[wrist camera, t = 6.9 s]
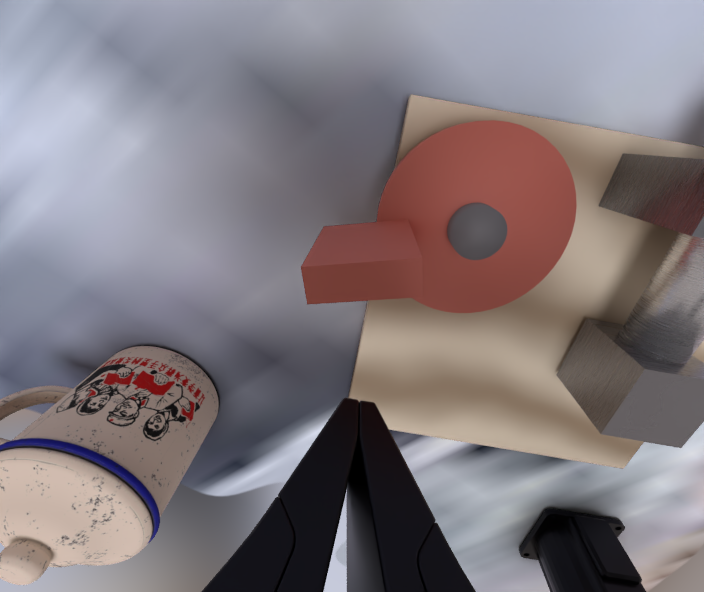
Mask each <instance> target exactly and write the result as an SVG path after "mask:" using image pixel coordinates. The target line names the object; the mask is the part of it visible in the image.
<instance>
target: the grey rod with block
mask: <svg viewBox="0 0 704 592" xmlns="http://www.w3.org/2000/svg"><path fill="white" fill-rule="evenodd" d="M703 340H704V238H699V237H694V236H689V235H686V234H683V233H680V232H679V233H678V235H677V236H676V238H675V240H674V241H673V243H672V245H671V246H670V248H669V250H668V251H667V253H666V255H665V256H664V258H663V260H662V261H661V263H660V265H659V266H658V268H657V270H656V271H655V273H654V275H653V276H652V278H651V280H650V281H649V283H648V285H647V286H646V288H645V290H644V291H643V293H642V295H641V296H640V298H639V300H638V301H637V303H636V305H635V306H634V308H633V310H632V311H631V313H630V315H629V316H628V318H627V320H626V321H625V323H624V325H623V324H617V323H611V322H605V321H600V320H594V319H588V318H587V319H586V320H585V322H584V324H583V326H582V328H581V330H580V332H579V333H578V335H577V337H576V339H575V341H574V343H573V345H572V346H571V348H570V350H569V352H568V354H567V356H566V358H565V360H564V361H563V363H562V365H561V367H560V369H559V371H558V373H557V374H556V375H557V377H558V378H559V379H560V381H561V382H562V383H563V385H564V386H565V387H566V389H567V390H568V391H569V393H570V394H571V395H572V397H573V398H574V399H575V401H576V402H577V403H578V405H579V406H580V407H581V409H582V410H583V411H584V413H585V414H586V415H587V417H588V418H589V419H590V421H591V422H592V423H593V425H594V426H595V427H596V429H597V430H598V431H599V433H600V434H602V435H608V436H614V437H620V438H625V439H631V440H637V441H643V442H649V443H655V444H661V445H667V446H673V447H679V448H682V446H683V445H684V444H685V443H686V442H687V440H688V439H689V438H690V437H691V436H692V435H693V433H694V432H695V431H696V430H697V429H698V427H699V426H700V425H701V424H702V423H703V422H704V363H703V362H702V361H700V360H699V359H697V358H696V357H695V356H693V354H694V352H695V351H696V350H697V348H698V347H699V346H700V344H701V343H702V342H703Z"/></svg>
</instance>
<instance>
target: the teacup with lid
mask: <svg viewBox="0 0 704 592" xmlns="http://www.w3.org/2000/svg"><path fill="white" fill-rule="evenodd" d="M44 403H56V404H55V405H53V406H52V407H51V408H50V409H49V410H47V411H46V412H45V413H44V414H43V415H41V416H40V417H39V418H38V419H37V420H36V421H34V422H33V423H32V424H31V425H30V426H28V427H27V428H26V429H25V430H24V431H22V432H21V433H20V434H19V435H18V436H17V437H15V438H14V439H13V440H12V441H10V440H6V439H3V438H0V543H1V544H2V545H3V546H4V547H5V549H4V550H3V551H2V552H1V553H0V578H1V579H3V580H5V581H7V582H9V583H12V584H17V585H27V584H30V583H32V582H34V581H36V580H37V579H39V578H40V577H41V576H42V574H43V573H44V572H45V571H46V569H47V568H48V567H66V566H73V565H77V564H82V565H109V564H115V563H118V562H122V561H125V560H127V559H129V558H131V557H133V556H134V555H136V554H137V553H138V552H140V551H141V550H142V549H143V548H145V546H146V545H147V544H148V543H149V542H150V541H151V540H152V539H153V538H154V537H155V535H156V533H157V531H158V528H159V523H160V517H161V515H162V513H163V511H164V509H165V508H166V506H167V504H168V503H169V501H170V499H171V497H172V496H173V494H174V492H175V490H176V489H177V487H178V485H179V483H180V481H181V480H182V478H183V476H184V474H185V473H186V471H187V469H188V467H189V465H190V464H191V462H192V460H193V458H194V457H195V455H196V453H197V451H198V450H199V448H200V446H201V444H202V442H203V441H204V439H205V437H206V435H207V434H208V432H209V430H210V428H211V426H212V425H213V423H214V421H215V419H216V417H217V414H218V408H219V401H218V395H217V392H216V390H215V387H214V385H213V383H212V382H211V380H210V379H209V377H208V376H207V375H206V374H205V373H204V371H203V370H202V369H201V368H199V367H198V366H197V365H196V364H195V363H193V362H192V361H190V360H189V359H187V358H186V357H184V356H182V355H180V354H178V353H176V352H173V351H170V350H167V349H163V348H159V347H152V346H137V347H131V348H127V349H124V350H122V351H120V352H118V353H116V354H115V355H113V356H112V357H111V358H109V359H108V360H107V361H106V362H105V363H103V364H102V365H101V366H100V367H99V368H97V369H96V370H95V371H94V372H93V373H92V374H90V375H89V376H88V377H87V378H86V379H84V380H83V381H82V382H81V383H80V384H78V385H77V386H76V387H75V388H74V389H72V388H68V387H62V386H41V387H35V388H30V389H26V390H23V391H20V392H17V393H14V394H11V395H9V396H7V397H4V398H2V399H0V420H2V419H3V418H5V417H7V416H8V415H10V414H12V413H14V412H16V411H19V410H21V409H24V408H27V407H30V406H33V405H38V404H44Z"/></svg>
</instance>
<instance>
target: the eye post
mask: <svg viewBox="0 0 704 592" xmlns="http://www.w3.org/2000/svg"><path fill="white" fill-rule="evenodd" d="M598 206H599V207H602V208H605V209H609V210H612V211H615V212H618V213H621V214H624V215H627V216H630V217H633V218H637V219H640V220H643V221H646V222H649V223H652V224H655V225H658V226H661V227H665V228H668V229H671V230H674V231H677V232H680V233H683V234H686V235H689V236H694V237H699V238H704V159H693V158H680V157H666V156H653V155H640V154H626V153H623V154H622V156H621V158H620V160H619V163H618V165H617V167H616V169H615V171H614V173H613V175H612V177H611V179H610V182H609V184H608V186H607V188H606V190H605V192H604V194H603V196H602V198H601V201H600V203H599V205H598Z"/></svg>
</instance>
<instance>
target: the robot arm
mask: <svg viewBox="0 0 704 592" xmlns="http://www.w3.org/2000/svg"><path fill="white" fill-rule="evenodd" d="M346 489H347V592H476V591H475V590H474V588H473V586H472V585H471V583H470V581H469V580H468V578H467V576H466V575H465V573H464V572H463V570H462V568H461V567H460V565H459V563H458V561H457V559H456V557H455V556H454V554H453V552H452V550H451V548H450V547H449V545H448V543H447V541H446V539H445V537H444V535H443V533H442V531H441V529H440V527H439V525H438V524H437V523H435V518H434V516H433V514H432V512H431V510H430V508H429V506H428V504H427V502H426V501H425V499H424V497H423V495H422V493H421V491H420V489H419V487H418V485H417V483H416V481H415V479H414V477H413V475H412V473H411V471H410V470H409V468H408V466H407V464H406V462H405V460H404V458H403V456H402V454H401V452H400V450H399V448H398V446H397V444H396V442H395V441H394V439H393V437H392V435H391V433H390V431H389V429H388V427H387V425H386V423H385V421H384V419H383V417H382V415H381V413H380V411H379V410H378V408H377V406H376V404H375V403H374V402H370V401H364V400H361V401H360V402H359V401H358V400H357V399H352V398H344V399H343V400H342V401H341V402H340V404H339V405H338V407H337V408H336V410H335V411H334V413H333V414H332V416H331V417H330V419H329V420H328V422H327V423H326V425H325V426H324V428H323V429H322V431H321V432H320V433H319V435H318V436H317V438H316V439H315V441H314V442H313V444H312V445H311V447H310V448H309V450H308V451H307V453H306V454H305V456H304V457H303V459H302V460H301V462H300V463H299V465H298V466H297V467H296V469H295V470H294V472H293V473H292V475H291V476H290V478H289V479H288V481H287V482H286V484H285V485H284V487H283V488H282V490H281V491H280V493H279V494H278V497H276V498H275V500H274V501H273V503H272V504H271V506H270V507H269V509H268V510H267V511H266V513H265V514H264V516H263V517H262V518H261V520H260V521H259V523H258V524H257V526H256V527H255V528H254V530H253V531H252V532H251V534H250V535H249V536H248V537H247V539H246V540H245V541H244V542H243V543H242V545H241V546H240V547H239V548H238V550H237V551H236V552H235V553H234V554H233V556H232V557H231V558H230V559H229V560H228V562H227V563H226V564H225V565H224V566H223V567H222V569H221V570H220V571H219V572H218V573H217V574H216V576H215V577H214V578H213V579H212V580H211V581H210V582H209V584H208V585H207V586H206V587H205V588H204V590H203V591H202V592H323V590H324V586H325V581H326V577H327V573H328V568H329V564H330V560H331V555H332V551H333V546H334V542H335V538H336V533H337V528H338V524H339V520H340V516H341V511H342V507H343V503H344V498H345V494H346ZM624 529H625V526H624V525H623V523H622V522H621V521H620V520H616V519H610V518H604V517H598V516H592V515H586V514H580V513H574V512H568V511H562V510H556V509H547V510H545V511H544V513H543V514H542V516H541V517H540V519H539V520H538V522H537V523H536V525H535V526H534V528H533V529H532V531H531V532H530V534H529V535H528V537H527V538H526V540H525V541H524V543H523V544H522V546H521V547H520V549H519V552H520V555H521V556H522V557H523V558H529V559H535V560H539V563H540V566H541V568H542V571H543V573H544V576H545V579H546V581H547V584H548V587H549V589H550V592H646V591H645V589H644V587H643V586H642V584H641V582H642V579H641V577H640V575H639V573H638V572H637V570H636V568H635V567H634V565H633V563H632V562H631V560H630V558H629V557H628V555H627V553H626V552H625V550H624V548H623V547H622V545H621V543H620V542H619V540H618V538H617V537H618V536H619V535H620V534H621V533H622V531H623V530H624Z"/></svg>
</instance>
